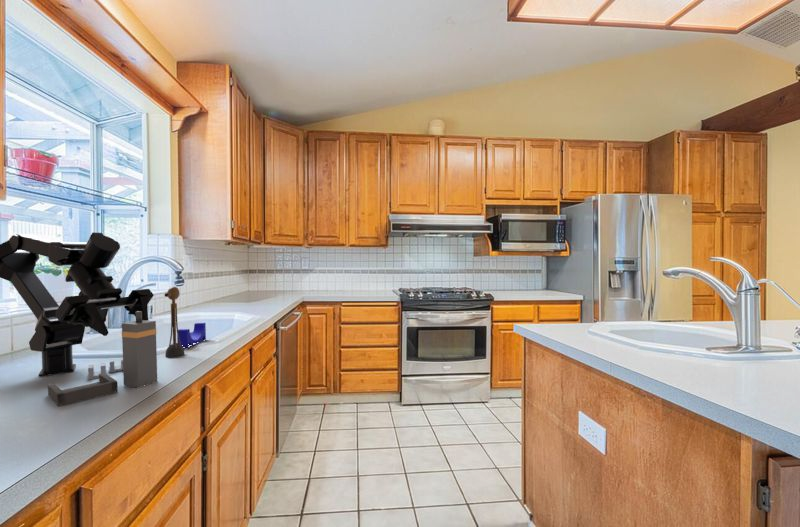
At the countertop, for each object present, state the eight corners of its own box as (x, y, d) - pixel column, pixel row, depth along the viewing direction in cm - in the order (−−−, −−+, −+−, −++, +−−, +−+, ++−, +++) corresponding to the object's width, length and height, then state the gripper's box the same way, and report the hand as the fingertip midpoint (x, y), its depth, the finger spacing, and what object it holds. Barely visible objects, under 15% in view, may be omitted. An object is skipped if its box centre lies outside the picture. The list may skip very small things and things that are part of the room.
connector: (123, 385, 84) (121, 312, 83) (143, 379, 88) (141, 309, 88) (138, 387, 82) (136, 313, 82) (157, 381, 87) (155, 310, 86)
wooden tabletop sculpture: (176, 358, 105) (174, 287, 105) (159, 358, 105) (157, 287, 105) (187, 353, 111) (185, 285, 111) (171, 353, 111) (170, 285, 111)
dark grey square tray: (48, 395, 78) (48, 384, 78) (104, 382, 86) (104, 372, 86) (58, 406, 73) (57, 394, 72) (117, 392, 80) (117, 381, 80)
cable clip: (192, 340, 128) (192, 323, 128) (205, 340, 129) (205, 322, 128) (172, 349, 116) (172, 330, 116) (187, 349, 117) (186, 330, 116)
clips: (88, 372, 93) (88, 362, 93) (149, 363, 101) (149, 353, 101) (87, 379, 88) (87, 368, 88) (151, 369, 96) (151, 358, 96)
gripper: (117, 300, 100) (149, 344, 97) (29, 311, 82) (65, 364, 79) (137, 271, 97) (171, 314, 94) (51, 275, 80) (89, 329, 76)
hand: (127, 330), depth 86 cm, fingers open, 9 cm apart
